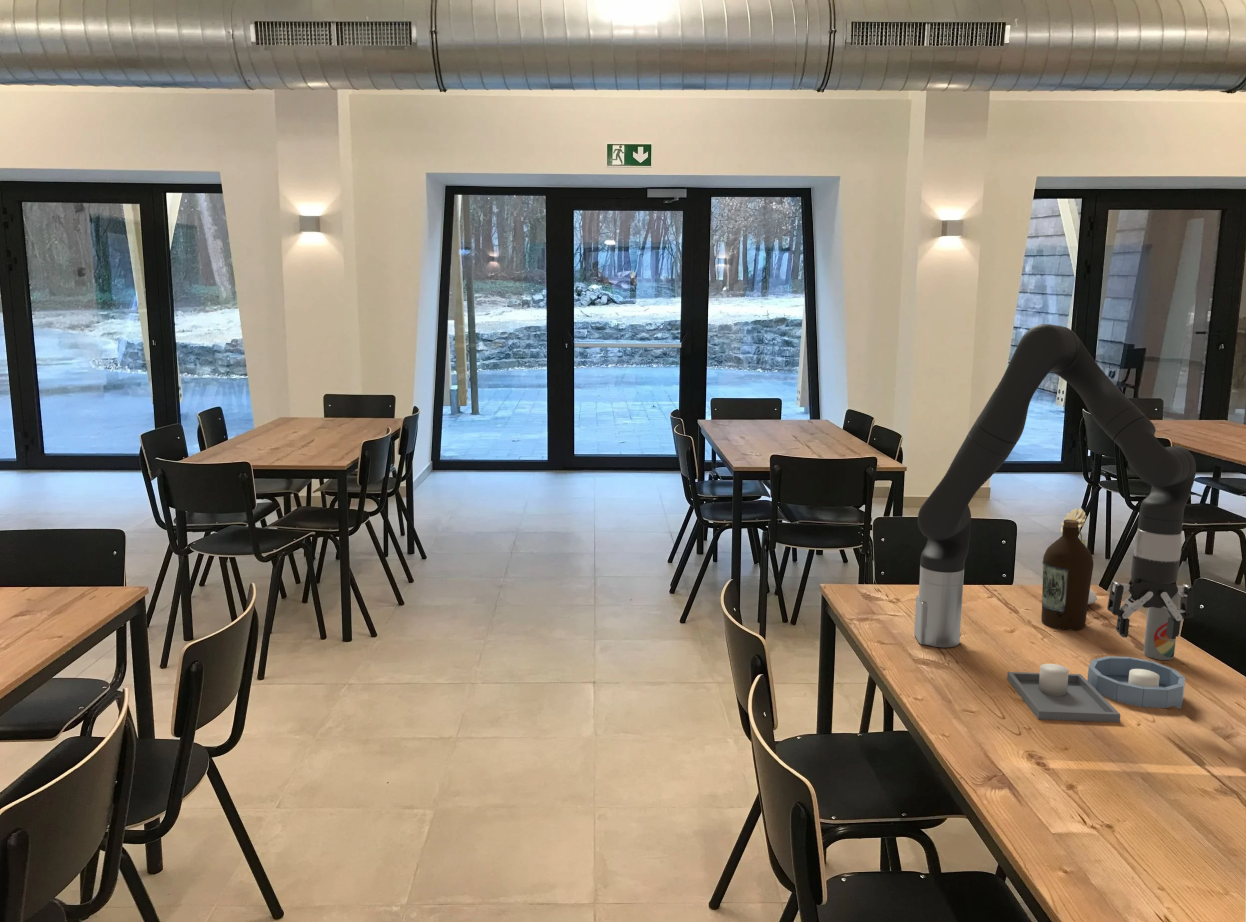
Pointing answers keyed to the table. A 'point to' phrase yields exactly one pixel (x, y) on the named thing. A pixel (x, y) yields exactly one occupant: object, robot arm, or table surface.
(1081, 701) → the parts tray
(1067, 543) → the olive oil
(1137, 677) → the white marshmallow
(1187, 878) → the table surface
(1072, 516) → the flower in vase
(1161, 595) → the robot arm
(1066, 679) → the marshmallow
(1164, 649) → the lotion bottle
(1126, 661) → the bowl
